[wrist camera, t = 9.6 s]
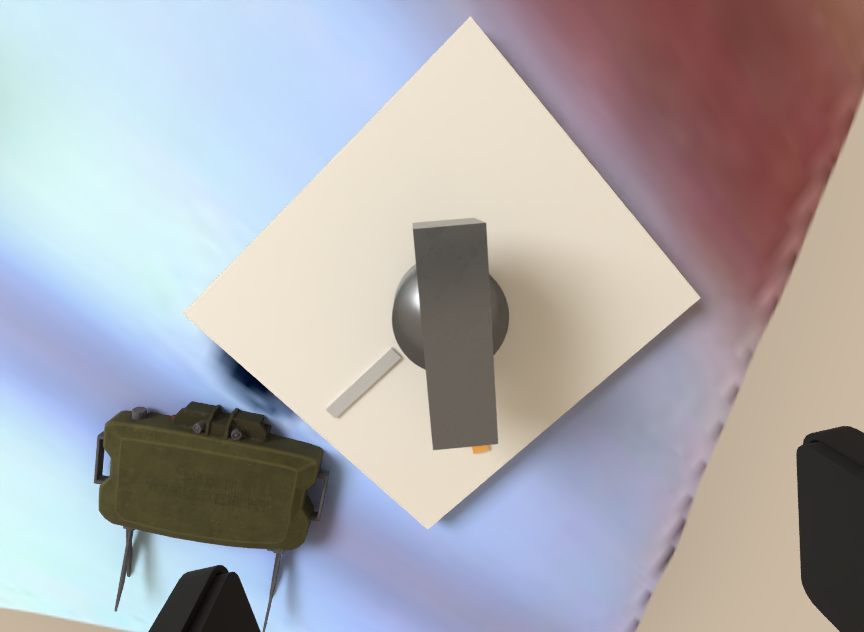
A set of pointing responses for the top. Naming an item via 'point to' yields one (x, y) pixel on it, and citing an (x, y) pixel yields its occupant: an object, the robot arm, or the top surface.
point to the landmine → (207, 480)
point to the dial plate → (395, 254)
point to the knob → (453, 329)
